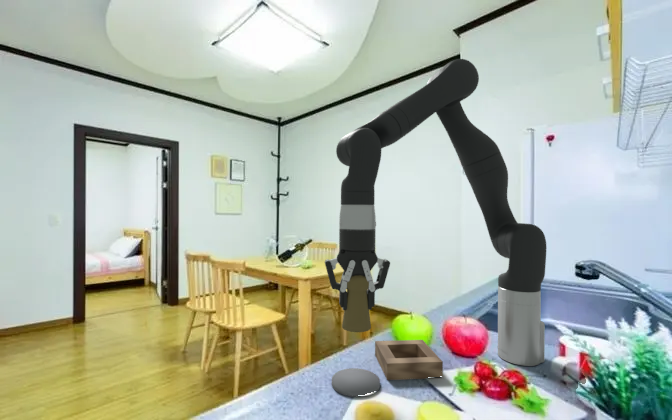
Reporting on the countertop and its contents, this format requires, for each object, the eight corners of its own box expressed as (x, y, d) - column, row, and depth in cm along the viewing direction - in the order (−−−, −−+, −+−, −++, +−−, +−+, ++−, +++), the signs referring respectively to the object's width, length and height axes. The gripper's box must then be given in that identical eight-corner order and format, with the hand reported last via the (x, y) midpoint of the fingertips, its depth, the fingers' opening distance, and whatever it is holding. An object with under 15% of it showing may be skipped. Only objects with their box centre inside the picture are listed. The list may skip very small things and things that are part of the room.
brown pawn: (371, 322, 71) (371, 271, 71) (371, 333, 65) (371, 277, 65) (343, 321, 72) (343, 271, 72) (340, 331, 66) (341, 276, 66)
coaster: (374, 371, 74) (374, 367, 74) (385, 395, 64) (385, 391, 64) (329, 372, 73) (329, 369, 73) (333, 398, 63) (333, 393, 63)
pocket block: (422, 353, 83) (422, 339, 83) (442, 377, 71) (442, 361, 71) (375, 355, 82) (375, 341, 82) (387, 380, 70) (387, 363, 70)
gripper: (386, 226, 73) (386, 303, 73) (322, 226, 72) (321, 304, 71) (395, 228, 65) (395, 313, 65) (324, 227, 64) (323, 315, 64)
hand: (356, 308), depth 68 cm, fingers closed on brown pawn, 4 cm apart
